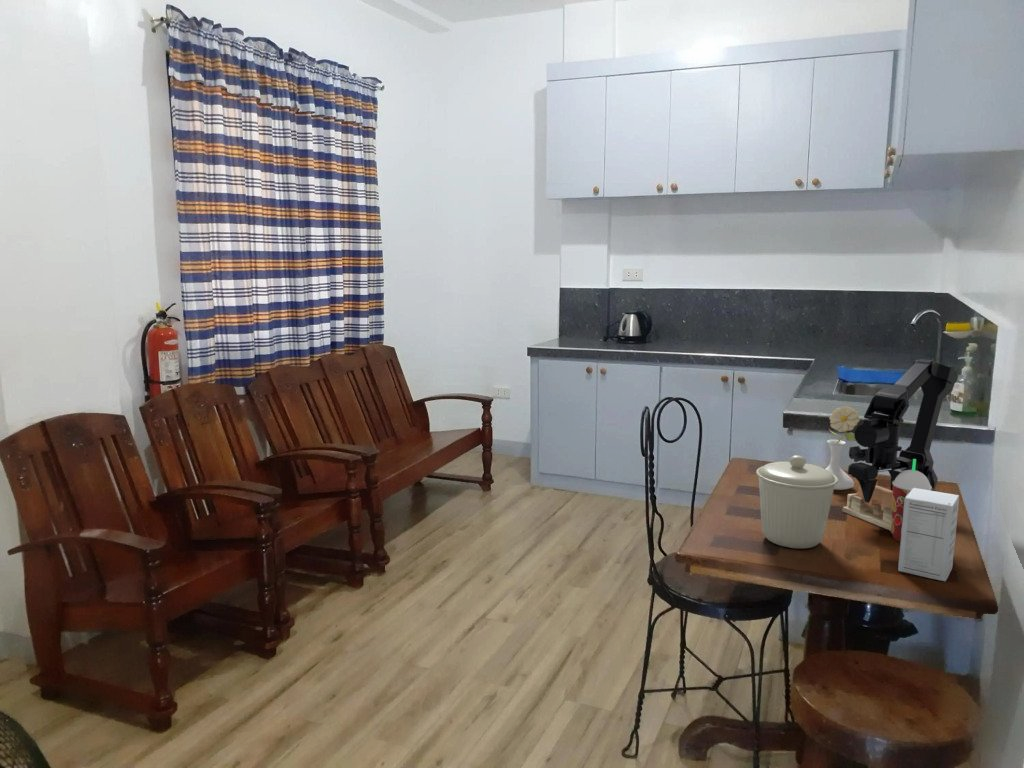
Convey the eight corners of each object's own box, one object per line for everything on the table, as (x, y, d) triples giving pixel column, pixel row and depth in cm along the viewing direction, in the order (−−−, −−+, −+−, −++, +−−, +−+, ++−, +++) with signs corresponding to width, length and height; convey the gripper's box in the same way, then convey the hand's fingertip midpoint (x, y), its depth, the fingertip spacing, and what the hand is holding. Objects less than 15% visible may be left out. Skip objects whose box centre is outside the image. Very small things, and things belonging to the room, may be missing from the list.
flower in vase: (803, 483, 225) (809, 401, 221) (832, 479, 229) (839, 399, 225) (837, 497, 213) (844, 410, 209) (867, 492, 217) (875, 407, 213)
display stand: (864, 507, 204) (865, 491, 204) (916, 527, 190) (918, 509, 189) (842, 511, 201) (843, 494, 200) (893, 531, 187) (895, 514, 186)
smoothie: (925, 548, 176) (934, 466, 173) (885, 541, 180) (894, 460, 177) (926, 537, 184) (934, 457, 180) (888, 530, 188) (895, 452, 184)
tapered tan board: (863, 499, 201) (865, 481, 200) (902, 514, 190) (904, 495, 189) (857, 500, 200) (858, 482, 199) (896, 515, 189) (898, 496, 188)
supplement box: (953, 568, 165) (962, 495, 162) (946, 582, 158) (955, 506, 155) (905, 557, 171) (912, 486, 168) (896, 570, 164) (903, 496, 161)
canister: (833, 534, 185) (840, 451, 181) (831, 561, 169) (839, 470, 165) (756, 523, 192) (761, 442, 188) (747, 547, 176) (753, 460, 172)
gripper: (885, 431, 203) (880, 486, 206) (833, 437, 196) (828, 495, 198) (922, 440, 193) (916, 499, 196) (869, 447, 186) (863, 508, 188)
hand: (880, 499), depth 195 cm, fingers open, 9 cm apart
